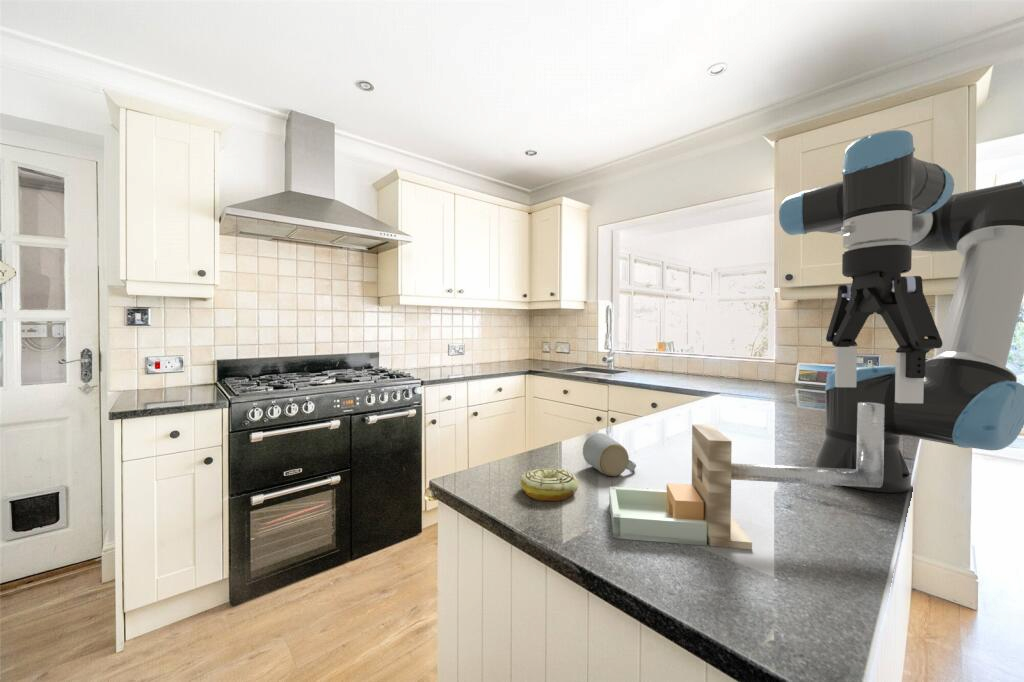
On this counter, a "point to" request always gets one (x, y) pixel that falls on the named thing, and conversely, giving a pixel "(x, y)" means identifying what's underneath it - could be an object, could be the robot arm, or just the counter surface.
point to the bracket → (715, 486)
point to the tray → (651, 518)
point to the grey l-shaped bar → (862, 476)
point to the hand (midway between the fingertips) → (873, 394)
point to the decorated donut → (549, 484)
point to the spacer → (684, 502)
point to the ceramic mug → (606, 455)
